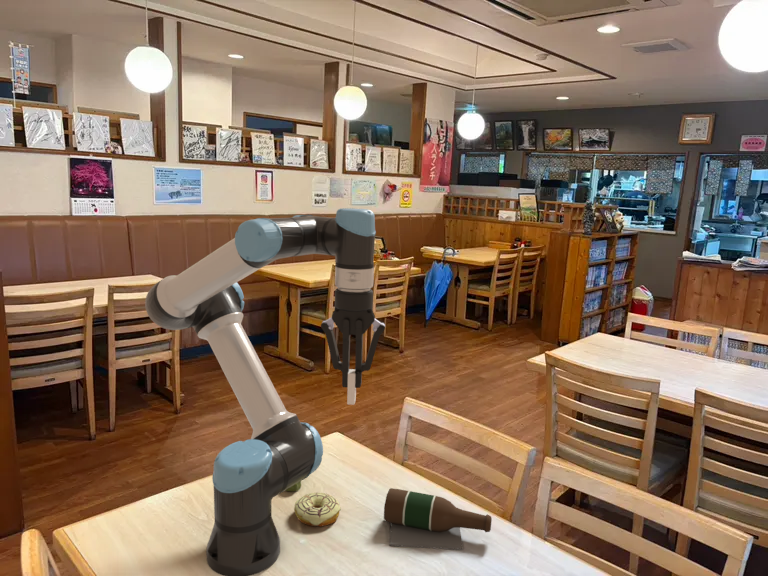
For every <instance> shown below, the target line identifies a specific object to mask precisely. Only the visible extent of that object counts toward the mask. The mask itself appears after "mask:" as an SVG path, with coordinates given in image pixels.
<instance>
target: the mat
mask: <svg viewBox="0 0 768 576" xmlns="http://www.w3.org/2000/svg"><path fill="white" fill-rule="evenodd" d="M389 533H390V536H389V537H390V538H389V546H390V547H405V548H406V547H409V548H426V549H427V548H428V549H444V550H445V549H448V550H462V551H463V549H464V547H463V546H464V544H463V541H462V532H461V528H452V529H450V530H448V531H444V532H434V531H428V530H423V529H418V528H412V527H407V526H402V525H397V524H393V523H390V532H389Z"/></svg>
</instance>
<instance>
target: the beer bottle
mask: <svg viewBox="0 0 768 576" xmlns="http://www.w3.org/2000/svg"><path fill="white" fill-rule="evenodd" d="M384 501H385V502H384V506H383V519H384V521H386V522H387V523H389V524H391V523H393V524H397V525H402V526H407V527H412V528H418V529H423V530H428V531H434V532H444V531H448V530H450V529H452V528H460V529H462V528H463V529H470V530H471V529H472V530H479V531H484V532H485V533H490V532H491V531H492V529H491V528H492V521H493V520H492V518H493V517H492V516H491V515H490V514H486V515H485V514H480V513H476V512H473V511H468V510H465V509H462V508H459V507H456V506H455V505H454V504H453V503H452V502H451V501H449V500H448V499H446V498H445V497H442V496H438V495H432V494H427V493H421V492H416V491H412V490H411V491H410V490H404V489H401V488H400V489H399V488H391V487H390V488H389V489H388V492H387V493H386V496H385V500H384Z"/></svg>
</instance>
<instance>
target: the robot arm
mask: <svg viewBox="0 0 768 576" xmlns="http://www.w3.org/2000/svg"><path fill="white" fill-rule="evenodd" d="M335 214H336V215H335V217H327V216H317V215H313V214H298V215H293V216H292V217H271V218H270V217H268V218H267V217H257V218H255V219H249V220H245V221H243V222H242V223H241V224H239V226H238V227H237V230H236V232H235V233H234V234H235V235H234V238H233V239H231V240H229V241H228V242H226V243H225V244H223V245H221V246H220V247H218V248H216V250H214V251H212V252H211V253H209V254H208V255H206V256H205V257H204V258H202V259H200V260H199V261H197V262H196V263H194V264H192V265H191V266H190V267H188V268H187V269H185V270H183V271H182V272H181V273H179V274H177V275H174V274H173V275H168V276H165V277H164V278H163V279H161V280H159V281H158V282H156V283H154V285H153V286H152V287H150V289H149V291H148V292H147V294H146V296H145V302H144V303H145V305H144V306H145V311H146V314H147V316H148V317H149V319H150V320H151V321H152V322H153V323H154V324H155V325H157V326H158V327H161V328H162V329H165V330H169V331H170V330H171V331H180V330H185V329H189V328H193V329H194V332H195V333H196V335H197V337H198V339H201V340H206V341H207V342H208V344H209V346H210V348H211V350H212V352H213V354H214V355H215V358H216V360H217V362H218V363H219V365H220V368H221V370H222V372H223V373H224V376H225V378H226V380H227V382H228V383H229V385H230V387H231V389H232V391H233V393H234V395H235V397H236V398H237V401H238V403H239V405H240V407H241V409H242V411H243V413H244V415H245V416H246V419H247V420H248V423H249V424H250V426H251V428H252V434H251V438H249V439H246V440H244V441H242V440H238V441H235V442H233V443H230V444H229V445H227V446H225V447H224V448H222V450H220V451H219V453H217V455H216V457H215V459H214V462H213V473H212V484H213V485H212V486H213V508H214V510H213V511H214V524H213V527H212V528H211V529H212V530H211V534H210V536H209V538H208V542H207V546H206V562H207V565H208V567H209V568H210V569H211V570H212V571H213V572H215V573H216V574H217V575H221V576H253V575H256V574H259V573H261V572H263V571H265V570H267V569H269V568H271V566H272V565H273V564H274V563H275V562H276V561H277V559H278V558H279V556H280V553H281V539H280V535H279V532H278V529H277V528H276V524H275V522H274V519H273V516H272V515H273V514H272V500H273V499H274V498H275V497H277V496H278V495H280V494H281V493H283V492H285V490H286V489H288V488H290V487H291V486H293V485H295V484H296V483H298V482H299V481H301V482H302V481H303V480H306V479H307V478H308V477H310V476H311V475H312V474H313V473H314V472H316V471H317V469H319V468H320V465H321V463H322V460H323V455H324V444H323V441H322V437H321V435H320V433H319V431H318V430H317V429H316V427H314V426H313V425H311V424H310V423H308V422H301V421H300V419H299V417H298V415H297V414H296V413H293V412H289V411H288V410H287V409H286V407H285V405H284V402H283V401H282V399H281V397H280V395H279V393H278V392H277V389H276V388H275V386H274V384H273V382H272V380H271V378H270V377H269V375H268V373H267V371H266V369H265V367H264V365H263V363H262V361H261V360H260V358H259V356H258V353H257V352H256V350H255V348H254V345H253V344H252V342H251V341H250V339H249V337H248V335H247V333H246V330H245V329H244V327H243V325H242V322H243V319H244V313H243V310H244V308H245V307H244V306H245V301H244V300H243V299H245V297H244V293H243V290H242V288H241V286H240V284H239V283H238V282H240V281H241V280H243V279H245V278H246V277H248V276H250V275H252V274H253V273H255V272H257V271H258V270H260V269H262V268H263V267H266V266H268V265H270V264H271V263H273V262H275V261H277V260H279V259H285V258H287V259H288V258H292V257H301V256H307V255H325V256H331V257H332V256H333V257H335V258H334V259H335V261H334V263H335V266H334V267H335V271H334V272H335V273H334V286H335V287H336V289H334V309H333V312H332V314H331V317H329V318H328V319H324V320H323V321H322V322H321V324H320V328H321V329H322V331H323V332H324V334H325V337H326V341H327V345H328V350H329V354H330V358H331V362H332V366H333V369H334V370H339V371H341V374H342V375H341V377H342V378H341V380H342V381H341V385H342V387H343V388H347V393H346V394H347V395H346V396H347V398H346V399H347V401H346V404H347V405H350V406H351V405H353V406H354V405H355V404H356V397H357V388H358V389H360V388H361V387H362V382H363V381H362V377H363V372H366V371H367V372H368V371H370V370H371V367H372V364H373V360H374V357H375V354H376V353H375V352H376V350H377V347H378V346H377V345H378V343H379V340H380V339H379V338H380V336H381V335H382V334H383V333H384V332H385V329H386V323H385V322H383V321H380V320H378V319H377V318H376V315H375V312H374V310H373V309H374V308H373V307H374V291H373V289H372V288H373V287H374V281H375V280H374V276H375V266H374V265H375V263H374V258H375V240H376V234H377V231H376V221H375V220H376V219H375V217H376V216H375V213H374V212H373V211H372V210H371V209H368V208H353V207H352V208H351V207H350V208H348V207H347V208H339V209H337V210H336V213H335ZM335 326H336V327H337V329H338V330H339V331H340V333H341V334H342V359H341V358H340V354H339V349H338V345H337V340H336V337H335V336H336V335H335V331H334V328H335ZM371 326H372V331H373V334H372V338H371V342H370V344H369V349H368V350H367V351H368V352H367V356H366V359H365V362H363V349H364V347H363V345H364V344H363V343H364V334H365V333H366V332H367V331H368V330H369V328H370V327H371ZM352 335H354V336H355V358H354V359H355V362H354V363H355V366H354V369H353V368H350V360H351V359H350V357H351V355H350V352H351V351H350V350H351V336H352ZM341 360H342V361H341Z"/></svg>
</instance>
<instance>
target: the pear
mask: <svg viewBox="0 0 768 576" xmlns="http://www.w3.org/2000/svg"><path fill="white" fill-rule="evenodd" d="M301 488H302V480H301V481H299V482H298V483H296V484H295V485H293V486H291V487H290V488H288V489H286V490H285V491H286V492H299V490H300V489H301ZM285 491H284V492H285Z"/></svg>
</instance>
